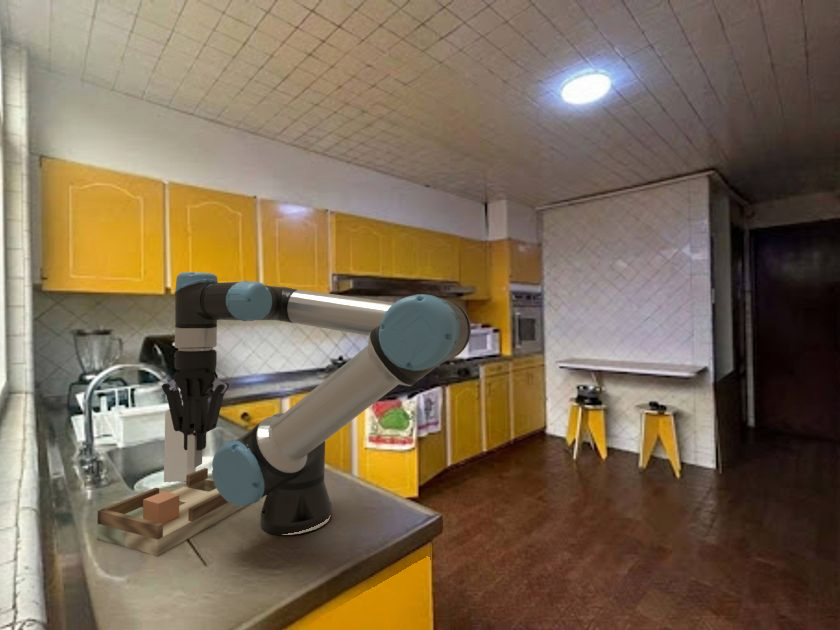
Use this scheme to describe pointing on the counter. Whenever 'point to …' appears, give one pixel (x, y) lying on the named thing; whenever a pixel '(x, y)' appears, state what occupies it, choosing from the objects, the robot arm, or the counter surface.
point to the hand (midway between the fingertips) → (194, 465)
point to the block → (161, 507)
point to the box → (195, 515)
